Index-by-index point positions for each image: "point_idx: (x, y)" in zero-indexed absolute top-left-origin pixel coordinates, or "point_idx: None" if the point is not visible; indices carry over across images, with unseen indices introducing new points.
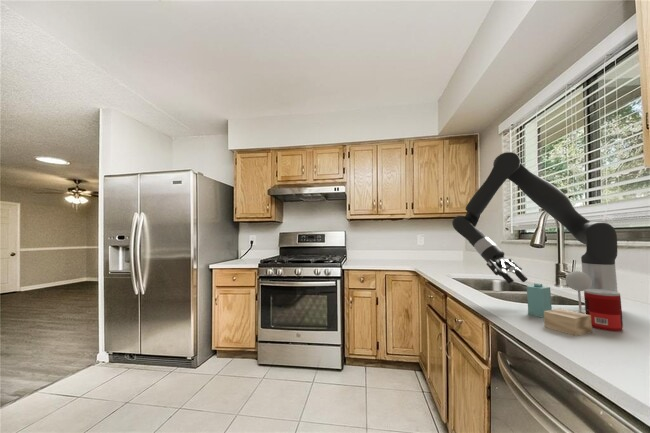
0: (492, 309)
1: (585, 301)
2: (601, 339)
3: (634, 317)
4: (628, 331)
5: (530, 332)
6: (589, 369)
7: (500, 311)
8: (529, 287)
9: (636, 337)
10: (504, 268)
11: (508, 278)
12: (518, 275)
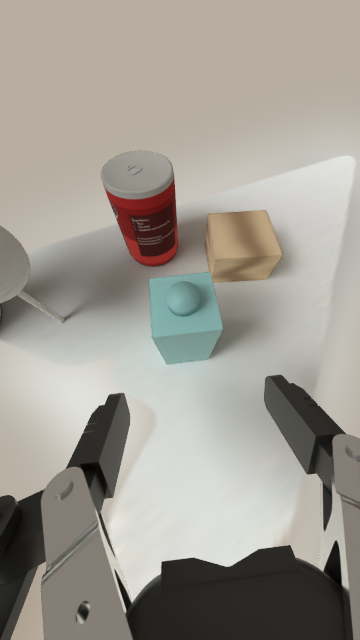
0: (282, 448)
1: (167, 216)
2: None
3: None
4: None
5: (327, 267)
6: (350, 182)
7: None
8: (220, 318)
9: None
10: (351, 499)
11: (307, 394)
12: (115, 462)
